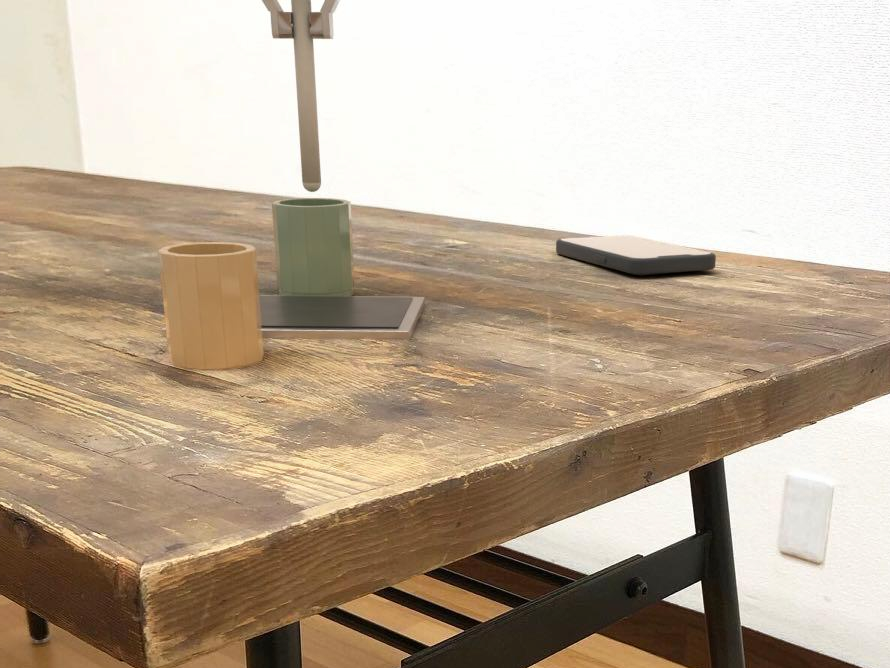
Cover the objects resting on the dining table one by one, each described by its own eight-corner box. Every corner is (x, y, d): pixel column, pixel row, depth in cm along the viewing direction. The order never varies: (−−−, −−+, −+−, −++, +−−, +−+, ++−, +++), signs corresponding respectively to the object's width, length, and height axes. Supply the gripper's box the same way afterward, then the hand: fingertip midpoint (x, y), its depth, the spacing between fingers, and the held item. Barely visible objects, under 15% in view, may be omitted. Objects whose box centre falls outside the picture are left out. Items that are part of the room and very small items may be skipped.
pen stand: (159, 377, 72) (146, 255, 69) (184, 355, 77) (173, 241, 74) (252, 378, 72) (243, 256, 69) (271, 356, 77) (263, 242, 74)
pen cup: (272, 300, 94) (265, 206, 91) (286, 287, 99) (280, 197, 97) (348, 301, 94) (343, 207, 91) (358, 287, 99) (354, 198, 97)
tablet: (162, 343, 80) (160, 327, 79) (208, 308, 91) (206, 293, 91) (409, 346, 80) (409, 329, 80) (425, 310, 91) (424, 295, 91)
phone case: (550, 255, 118) (633, 279, 104) (550, 238, 117) (634, 259, 104) (631, 251, 121) (721, 272, 108) (631, 234, 121) (722, 254, 107)
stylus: (301, 192, 93) (288, -10, 88) (304, 190, 94) (292, -10, 89) (320, 192, 93) (308, -10, 88) (323, 191, 94) (311, -9, 89)
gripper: (444, -170, 88) (448, 40, 93) (156, -172, 88) (176, 38, 93) (438, -186, 82) (442, 39, 87) (129, -188, 82) (152, 37, 87)
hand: (303, 38), depth 90 cm, fingers closed on stylus, 1 cm apart
